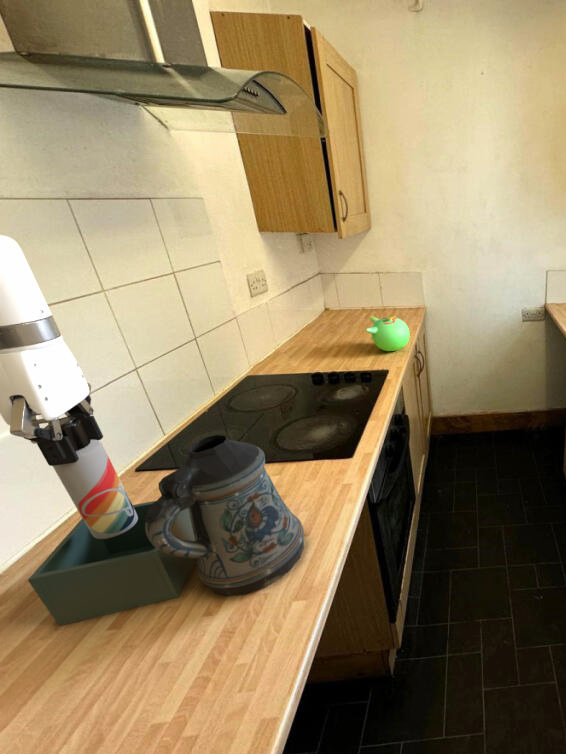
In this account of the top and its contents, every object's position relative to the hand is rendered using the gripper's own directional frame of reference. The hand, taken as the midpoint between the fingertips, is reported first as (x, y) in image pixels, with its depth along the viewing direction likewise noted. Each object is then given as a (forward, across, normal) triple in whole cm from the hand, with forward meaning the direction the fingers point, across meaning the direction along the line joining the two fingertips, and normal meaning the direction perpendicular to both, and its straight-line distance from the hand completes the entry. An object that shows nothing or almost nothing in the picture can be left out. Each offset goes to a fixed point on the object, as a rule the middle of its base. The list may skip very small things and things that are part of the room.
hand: (77, 450), depth 62 cm
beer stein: (+26, +4, +18) cm, 32 cm away
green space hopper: (+26, -109, +48) cm, 122 cm away
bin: (+26, 0, 0) cm, 26 cm away
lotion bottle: (+15, 0, 0) cm, 15 cm away
